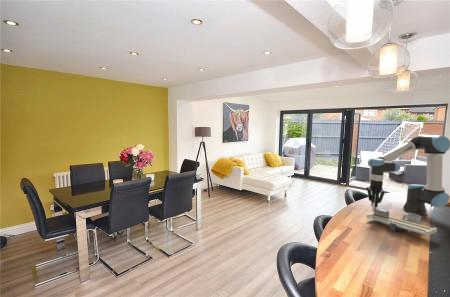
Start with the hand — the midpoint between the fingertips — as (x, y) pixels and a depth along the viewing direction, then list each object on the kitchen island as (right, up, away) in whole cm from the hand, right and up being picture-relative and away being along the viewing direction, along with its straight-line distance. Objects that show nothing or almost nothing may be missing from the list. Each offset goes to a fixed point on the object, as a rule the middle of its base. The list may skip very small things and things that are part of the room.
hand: (373, 210), depth 167 cm
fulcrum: (+7, -9, -14) cm, 18 cm away
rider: (+2, -4, -4) cm, 6 cm away
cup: (+20, -9, -9) cm, 24 cm away
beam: (+7, -5, -14) cm, 17 cm away
